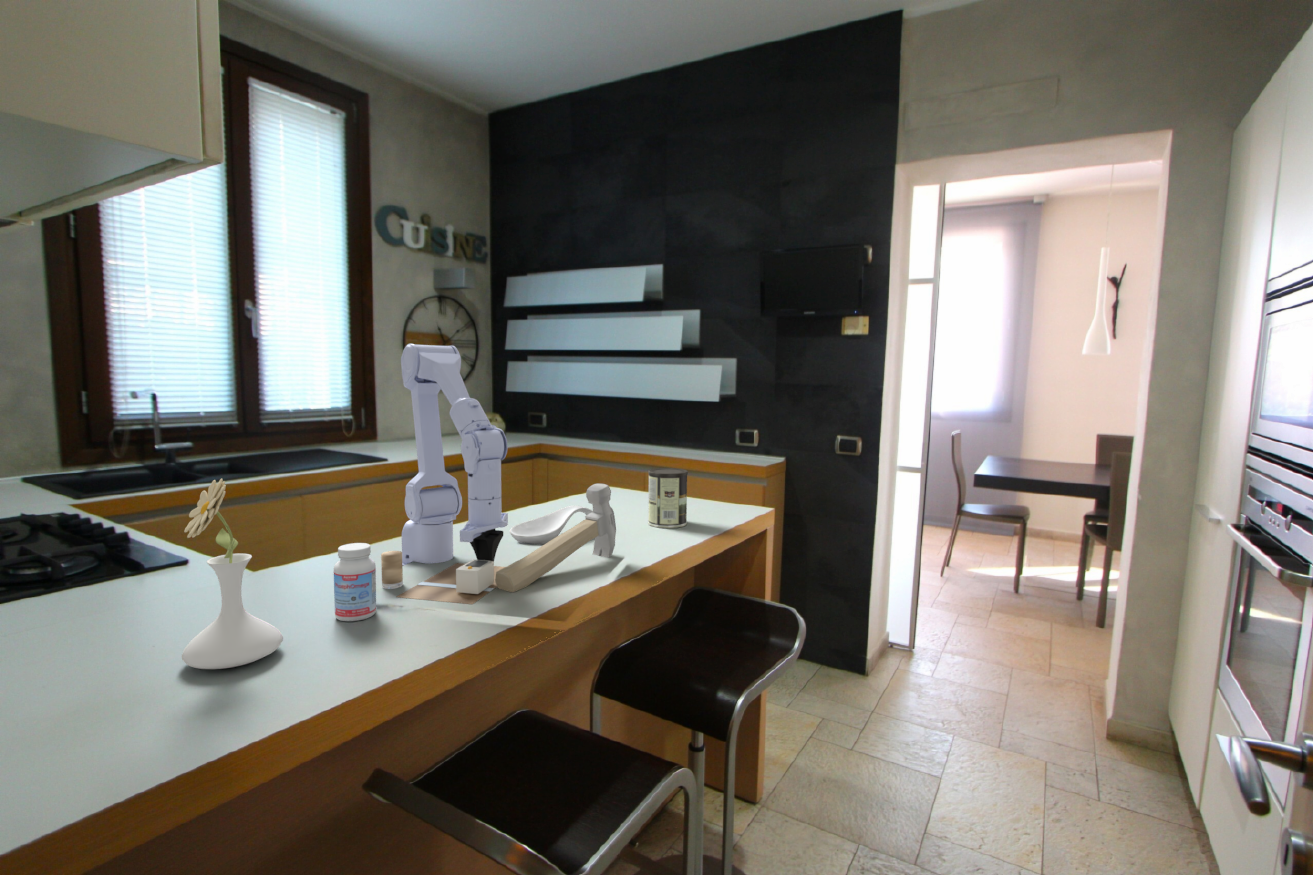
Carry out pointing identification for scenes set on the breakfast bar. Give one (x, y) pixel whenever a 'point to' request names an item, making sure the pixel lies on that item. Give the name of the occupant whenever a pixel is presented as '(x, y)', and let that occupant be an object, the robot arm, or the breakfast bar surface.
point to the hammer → (566, 543)
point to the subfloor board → (446, 588)
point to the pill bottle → (354, 583)
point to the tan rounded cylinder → (392, 569)
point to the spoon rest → (545, 526)
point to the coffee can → (667, 497)
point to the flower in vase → (227, 601)
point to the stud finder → (474, 576)
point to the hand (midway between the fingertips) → (485, 571)
